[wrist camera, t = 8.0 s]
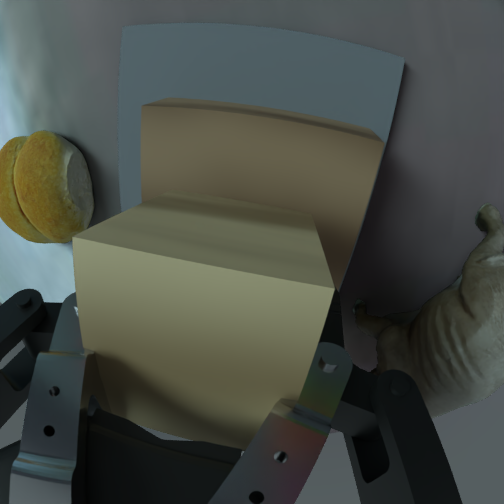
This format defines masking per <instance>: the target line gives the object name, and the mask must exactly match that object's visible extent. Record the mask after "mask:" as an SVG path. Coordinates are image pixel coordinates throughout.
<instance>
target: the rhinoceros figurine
mask: <svg viewBox="0 0 504 504" xmlns="http://www.w3.org/2000/svg"><path fill="white" fill-rule="evenodd" d="M502 221H503V220H502V218H501V216H500V213H499V211H498V210H497V208H495V207H494V206H492V205H491V204H490V203H486V204H484V205H483V206H482V207H481V208H480V209H479V210H478V212H477V215H476V217H475V224H476V226H477V225H478V227H479V228H480V229H481V231H487V232H488V233H487V235H486V237H485V238H484V239H483V240H482V242H481V243H480V244H479V245H478V246H477V247H476V248H475V249H474V250H473V251H472V252H471V253H470V255H469V257H468V259H467V261H466V262H465V264H464V266H463V269H462V275H460V276H458V277H457V281H456V282H455V283H453V284H452V285H450V286H449V287H447V288H446V289H444V290H443V291H441V292H439V293H438V294H437V295H435V296H434V297H432V298H431V299H430V300H428V301H427V302H426V303H425V304H424V305H423V307H422V308H421V309H419V310H417V311H413V312H403V313H395V314H389V315H386V316H384V317H378V316H372V315H368V314H367V313H366V307H365V303H364V302H362V301H360V299H357V300H356V303H355V306H354V308H353V310H352V311H353V312H354V313H355V316H356V320H355V322H356V324H357V327H358V328H359V329H360V330H361V331H362V332H363V333H365V334H367V335H369V336H374V338H375V339H376V340H377V346H376V351H377V354H378V356H377V359H378V364H377V367H376V368H375V369H373V370H372V371H371V372H370V373H372V374H375V375H377V376H380V375H381V374H382V373H383V372H384V371H387V370H391V369H395V370H400V371H403V372H405V373H407V374H408V375H410V376H411V377H412V378H413V379H414V381H415V382H416V384H417V386H418V388H419V391H420V393H421V395H422V398H423V400H424V402H425V404H426V407H427V409H428V412H429V414H430V416H431V419H432V418H434V417H437V416H441V415H443V414H446V413H448V412H450V411H452V410H455V409H457V408H460V407H463V406H467V405H469V404H473V403H477V402H479V401H481V400H483V399H486V398H487V397H489V396H490V395H491V394H492V393H494V392H495V391H496V390H497V389H498V388H499V387H500V386H501V385H502V384H504V253H502V251H503V247H504V225H503V223H502Z"/></svg>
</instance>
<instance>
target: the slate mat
mask: <svg viewBox="0 0 504 504" xmlns="http://www.w3.org/2000/svg"><path fill="white" fill-rule="evenodd" d="M404 62H405V58H402V57H399V56H396V55H393V54H390V53H387V52H384V51H380V50H377V49H374V48H370V47H366V46H363V45H359V44H355V43H351V42H347V41H343V40H339V39H334V38H329V37H325V36H320V35H315V34H309V33H304V32H298V31H291V30H284V29H277V28H269V27H260V26H250V25H237V24H220V23H163V24H146V25H134V26H124V27H123V29H122V39H121V50H120V65H119V84H118V167H119V187H120V202H121V213H122V212H124V211H126V210H128V209H130V208H132V207H135V206H137V205H139V204H141V203H142V198H141V106H142V105H145V104H148V103H152V102H155V101H158V100H161V99H165V98H168V97H170V98H187V99H201V100H212V101H222V102H231V103H240V104H247V105H255V106H262V107H269V108H275V109H281V110H287V111H293V112H298V113H303V114H309V115H314V116H318V117H323V118H328V119H332V120H337V121H341V122H345V123H350V124H354V125H358V126H362V127H366V128H369V129H371V130H372V131H373V132H374V133H375V134H376V135H377V136H378V137H379V138H380V139H381V140H382V141H383V142H384V143H385V144H384V148H383V152H382V156H381V160H380V163H379V167H378V170H377V174H376V178H375V181H374V185H373V188H372V191H371V195H370V198H369V201H368V205H367V208H366V211H365V214H364V217H363V221H362V224H361V227H360V230H359V233H358V236H357V239H356V242H355V245H354V248H353V251H352V254H351V257H350V259H349V262H348V265H347V268H346V271H345V273H344V276H343V279H342V282H341V284H340V287H339V290H338V292H339V291H340V288H341V286H342V283H343V280H344V277H345V275H346V272H347V269H348V266H349V264H350V261H351V258H352V255H353V252H354V249H355V246H356V244H357V241H358V238H359V235H360V232H361V229H362V225H363V222H364V219H365V216H366V213H367V210H368V207H369V203H370V200H371V197H372V193H373V190H374V187H375V183H376V180H377V176H378V173H379V169H380V166H381V162H382V158H383V155H384V151H385V147H386V143H387V139H388V135H389V131H390V127H391V123H392V119H393V115H394V110H395V106H396V101H397V97H398V92H399V87H400V82H401V77H402V72H403V67H404Z"/></svg>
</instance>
